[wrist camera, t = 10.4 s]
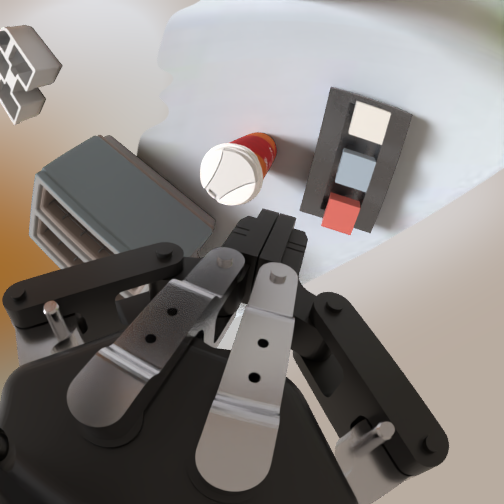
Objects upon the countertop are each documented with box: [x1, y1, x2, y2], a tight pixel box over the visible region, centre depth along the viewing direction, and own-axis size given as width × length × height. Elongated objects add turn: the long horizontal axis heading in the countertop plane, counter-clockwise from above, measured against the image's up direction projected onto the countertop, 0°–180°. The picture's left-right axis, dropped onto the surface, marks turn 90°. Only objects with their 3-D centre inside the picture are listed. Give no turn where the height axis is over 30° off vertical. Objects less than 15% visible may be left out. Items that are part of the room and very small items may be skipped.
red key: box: [321, 192, 360, 235], centre depth 43 cm, size 4×4×5 cm
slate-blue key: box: [335, 148, 376, 192], centre depth 39 cm, size 4×4×5 cm
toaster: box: [29, 135, 215, 301], centre depth 53 cm, size 19×35×20 cm, turn 53°
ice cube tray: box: [0, 25, 62, 125], centre depth 43 cm, size 17×28×9 cm, turn 41°
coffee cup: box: [200, 132, 277, 205], centre depth 41 cm, size 8×8×15 cm
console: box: [300, 87, 412, 233], centre depth 42 cm, size 20×12×4 cm, turn 170°
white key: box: [349, 101, 391, 145], centre depth 35 cm, size 4×4×5 cm
